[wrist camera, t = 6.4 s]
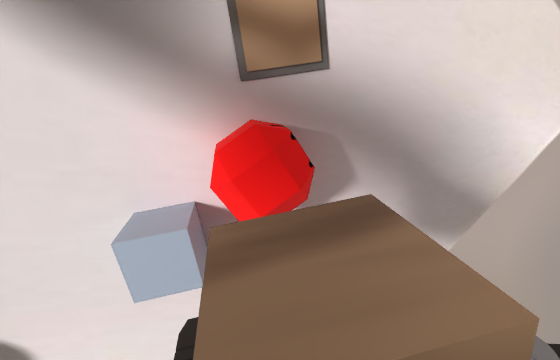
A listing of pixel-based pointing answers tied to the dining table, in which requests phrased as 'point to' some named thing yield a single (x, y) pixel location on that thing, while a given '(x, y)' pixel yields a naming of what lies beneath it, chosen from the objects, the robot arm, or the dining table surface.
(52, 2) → the dining table surface
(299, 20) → the walnut swatch
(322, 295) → the walnut cube
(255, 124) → the ball
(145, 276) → the slate cube
